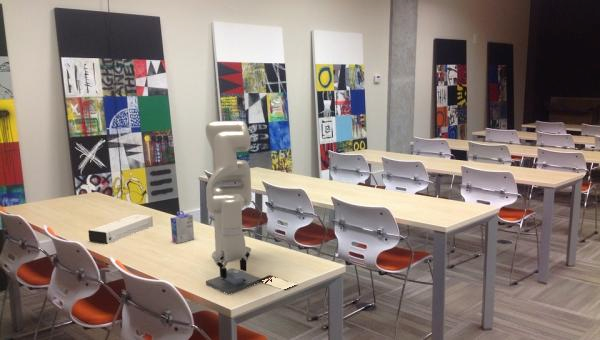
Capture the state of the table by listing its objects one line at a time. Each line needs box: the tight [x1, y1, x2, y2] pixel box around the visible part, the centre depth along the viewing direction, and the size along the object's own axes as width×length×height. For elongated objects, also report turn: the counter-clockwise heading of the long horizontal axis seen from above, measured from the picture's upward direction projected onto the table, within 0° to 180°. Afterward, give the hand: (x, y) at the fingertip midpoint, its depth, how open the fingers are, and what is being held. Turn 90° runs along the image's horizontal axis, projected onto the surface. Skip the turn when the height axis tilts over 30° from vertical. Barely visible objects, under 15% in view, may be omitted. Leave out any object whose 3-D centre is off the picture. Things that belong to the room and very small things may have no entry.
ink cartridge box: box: [170, 210, 195, 244], centre depth 253 cm, size 10×6×14 cm, turn 137°
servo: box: [225, 267, 245, 285], centre depth 198 cm, size 4×9×6 cm, turn 46°
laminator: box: [87, 213, 154, 245], centre depth 266 cm, size 34×12×6 cm, turn 157°
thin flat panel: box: [261, 275, 298, 291], centre depth 199 cm, size 7×1×15 cm
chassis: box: [205, 269, 263, 295], centre depth 198 cm, size 16×14×2 cm
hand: (233, 273), depth 198 cm, fingers open, 9 cm apart
